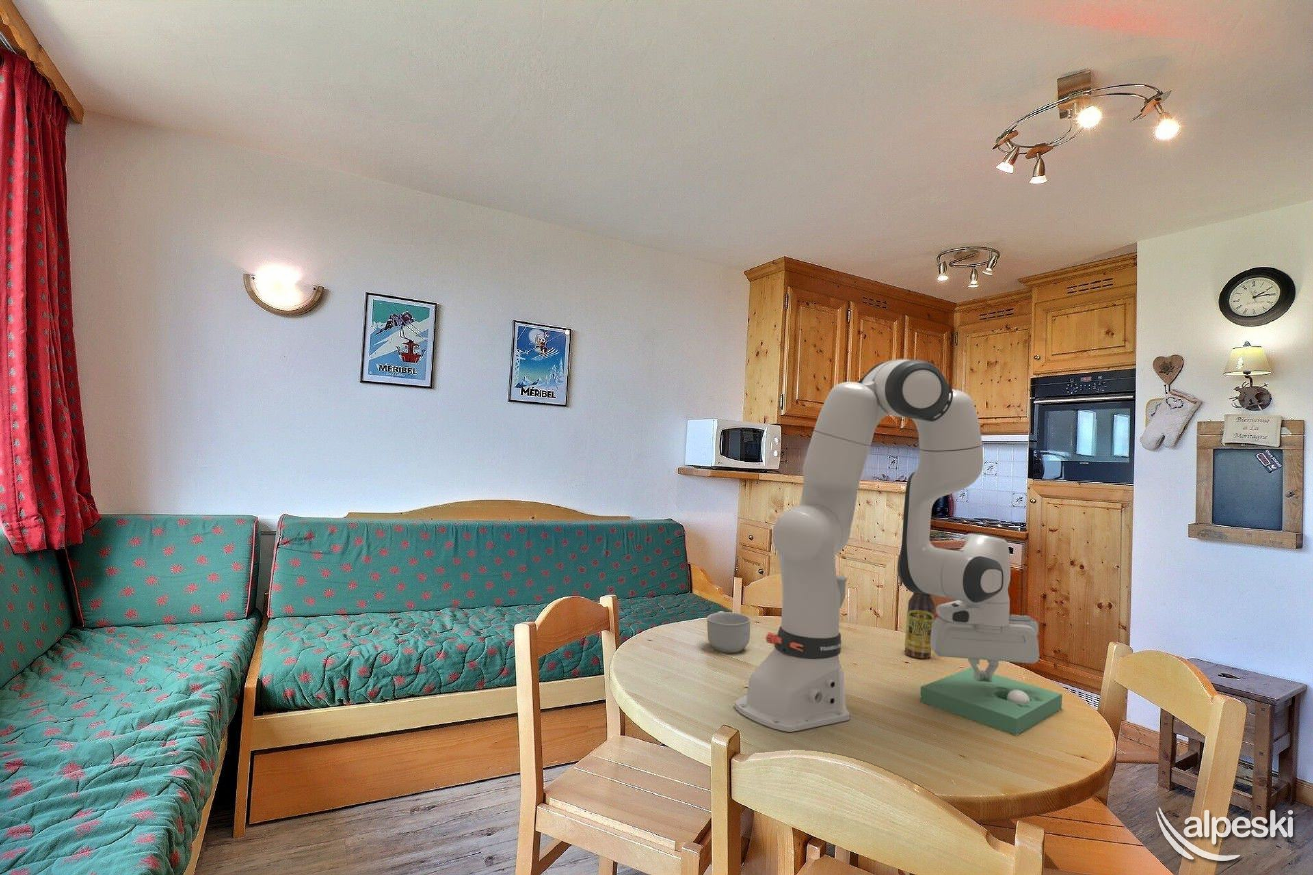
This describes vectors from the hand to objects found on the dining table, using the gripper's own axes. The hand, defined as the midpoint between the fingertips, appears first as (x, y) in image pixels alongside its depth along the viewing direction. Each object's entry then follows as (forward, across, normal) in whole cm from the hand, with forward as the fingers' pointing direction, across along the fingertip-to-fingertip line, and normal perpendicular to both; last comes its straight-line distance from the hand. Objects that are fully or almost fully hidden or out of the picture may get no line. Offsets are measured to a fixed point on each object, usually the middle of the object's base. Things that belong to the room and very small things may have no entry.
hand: (982, 680), depth 126 cm
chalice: (+4, +25, -31) cm, 40 cm away
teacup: (+4, +52, -24) cm, 57 cm away
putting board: (+4, -1, +1) cm, 5 cm away
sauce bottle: (+5, +4, -29) cm, 30 cm away
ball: (+2, -5, +4) cm, 7 cm away
